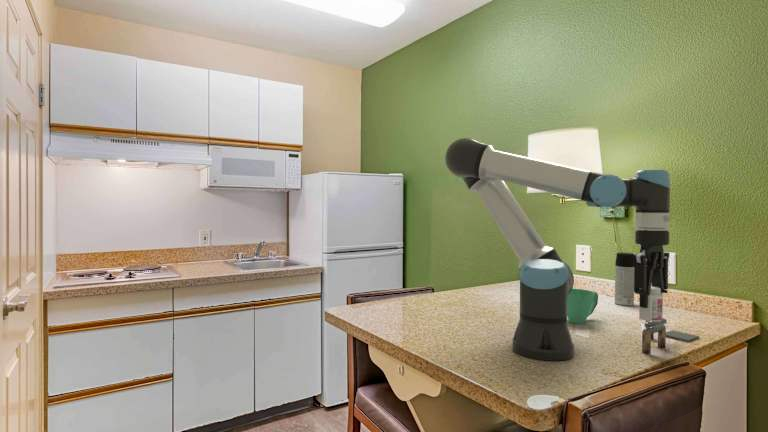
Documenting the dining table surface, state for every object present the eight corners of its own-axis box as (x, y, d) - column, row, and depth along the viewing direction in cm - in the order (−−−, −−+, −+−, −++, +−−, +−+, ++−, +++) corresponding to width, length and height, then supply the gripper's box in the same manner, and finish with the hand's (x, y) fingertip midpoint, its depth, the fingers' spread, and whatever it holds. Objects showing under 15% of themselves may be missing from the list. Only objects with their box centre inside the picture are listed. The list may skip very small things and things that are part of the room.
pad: (687, 342, 121) (687, 340, 121) (661, 335, 127) (661, 333, 127) (699, 338, 125) (699, 336, 125) (672, 332, 131) (672, 330, 131)
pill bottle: (662, 323, 109) (662, 289, 109) (640, 320, 112) (640, 288, 112) (662, 318, 114) (662, 287, 113) (641, 316, 116) (641, 285, 116)
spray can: (634, 303, 170) (635, 253, 169) (633, 307, 164) (634, 254, 164) (615, 301, 173) (616, 251, 173) (613, 304, 168) (614, 253, 167)
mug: (580, 327, 136) (581, 295, 136) (554, 320, 144) (554, 290, 144) (608, 321, 143) (609, 291, 143) (582, 314, 152) (582, 286, 152)
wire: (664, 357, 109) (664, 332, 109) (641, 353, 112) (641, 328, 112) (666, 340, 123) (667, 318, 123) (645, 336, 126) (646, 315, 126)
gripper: (649, 231, 105) (647, 326, 105) (684, 229, 114) (683, 317, 114) (618, 229, 111) (617, 320, 111) (654, 228, 120) (653, 311, 121)
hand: (650, 318), depth 113 cm, fingers closed on pill bottle, 5 cm apart
